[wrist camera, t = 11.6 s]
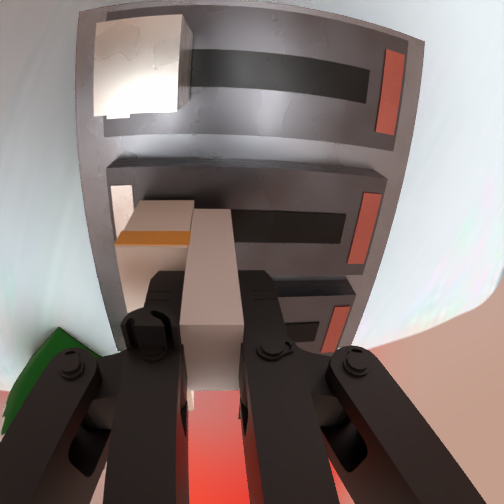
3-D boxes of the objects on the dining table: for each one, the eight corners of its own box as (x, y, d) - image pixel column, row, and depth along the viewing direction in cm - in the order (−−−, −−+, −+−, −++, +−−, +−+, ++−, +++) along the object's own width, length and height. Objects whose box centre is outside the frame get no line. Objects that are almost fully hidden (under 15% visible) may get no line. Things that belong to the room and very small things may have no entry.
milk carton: (138, 372, 25) (123, 600, 8) (89, 402, 27) (67, 577, 10) (54, 314, 21) (-17, 563, 4) (19, 356, 23) (-34, 539, 6)
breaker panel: (93, 17, 11) (11, -11, 4) (405, 42, 13) (505, 43, 7) (122, 331, 22) (102, 421, 15) (342, 328, 24) (376, 409, 17)
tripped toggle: (138, 199, 13) (113, 245, 10) (195, 199, 13) (188, 246, 10) (143, 256, 14) (126, 313, 11) (195, 257, 15) (191, 315, 11)
